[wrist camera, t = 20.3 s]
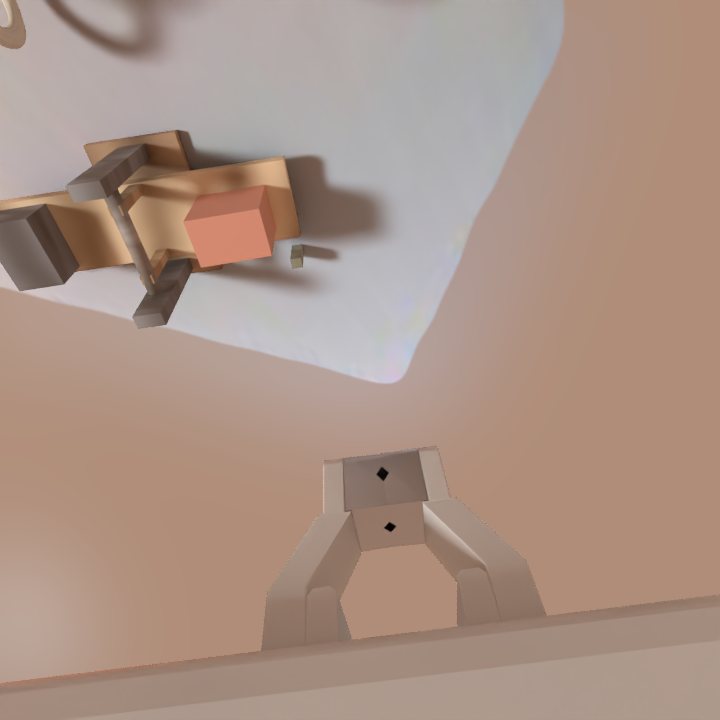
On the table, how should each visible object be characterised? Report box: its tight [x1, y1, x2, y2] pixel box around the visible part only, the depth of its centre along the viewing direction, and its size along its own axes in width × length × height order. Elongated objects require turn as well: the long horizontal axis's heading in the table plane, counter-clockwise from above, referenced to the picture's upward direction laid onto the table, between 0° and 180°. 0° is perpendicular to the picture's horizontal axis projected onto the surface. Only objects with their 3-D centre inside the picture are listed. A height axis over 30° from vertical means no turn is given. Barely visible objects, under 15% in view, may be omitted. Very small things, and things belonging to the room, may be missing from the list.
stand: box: [66, 130, 304, 329], centre depth 40 cm, size 16×13×11 cm
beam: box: [0, 156, 301, 295], centre depth 40 cm, size 26×9×7 cm, turn 97°
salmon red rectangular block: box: [183, 185, 276, 268], centre depth 40 cm, size 6×4×6 cm, turn 98°
